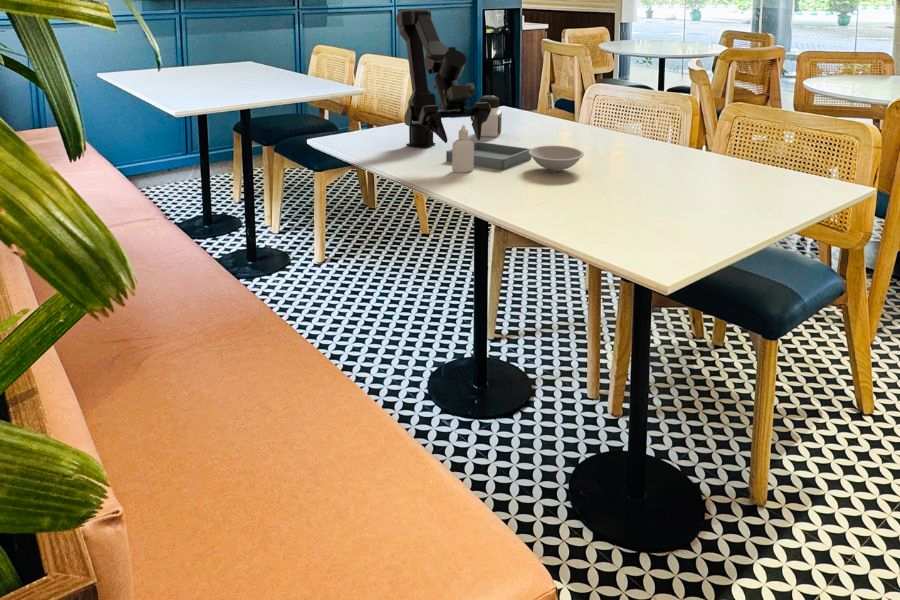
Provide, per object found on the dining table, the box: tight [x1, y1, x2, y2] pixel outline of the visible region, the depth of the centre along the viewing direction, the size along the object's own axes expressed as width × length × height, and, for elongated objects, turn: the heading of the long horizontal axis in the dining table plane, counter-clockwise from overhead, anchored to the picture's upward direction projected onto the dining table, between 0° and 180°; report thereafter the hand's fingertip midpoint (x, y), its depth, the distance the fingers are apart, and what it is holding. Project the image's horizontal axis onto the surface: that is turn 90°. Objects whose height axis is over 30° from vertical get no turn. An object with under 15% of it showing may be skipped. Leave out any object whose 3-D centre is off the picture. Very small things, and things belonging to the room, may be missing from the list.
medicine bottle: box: [479, 95, 503, 138], centre depth 261 cm, size 7×7×12 cm
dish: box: [529, 145, 585, 173], centre depth 218 cm, size 18×14×5 cm
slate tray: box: [445, 141, 533, 171], centre depth 230 cm, size 18×16×3 cm
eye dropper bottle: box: [451, 124, 474, 174], centre depth 216 cm, size 4×6×12 cm
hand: (463, 140), depth 215 cm, fingers open, 9 cm apart
